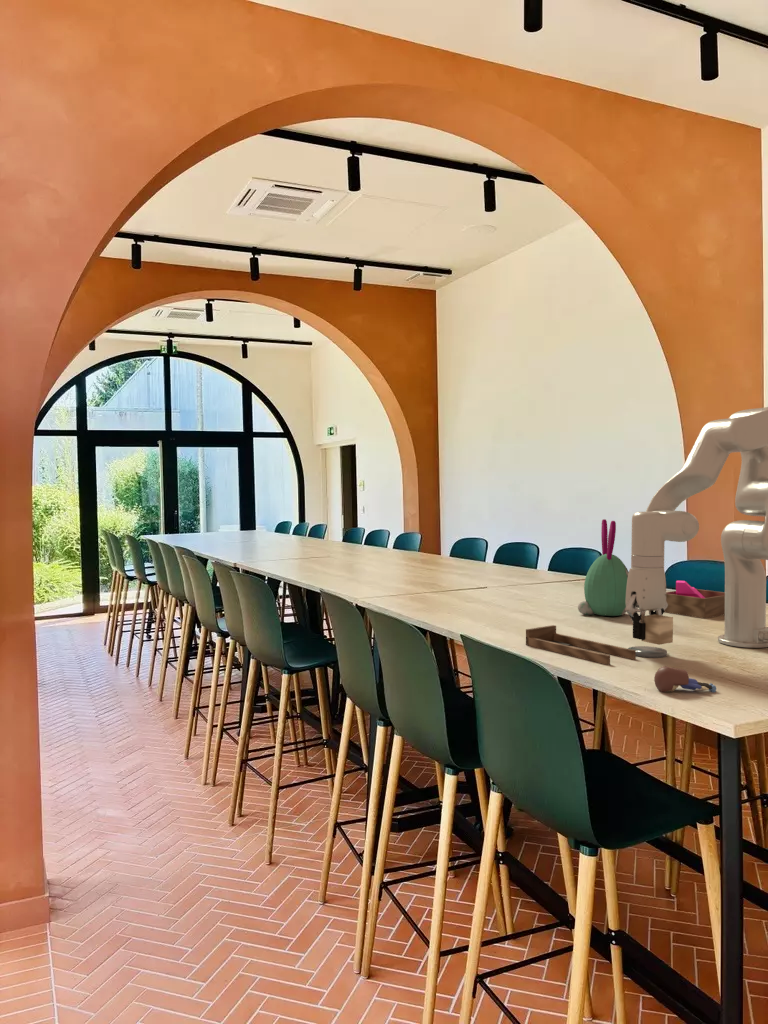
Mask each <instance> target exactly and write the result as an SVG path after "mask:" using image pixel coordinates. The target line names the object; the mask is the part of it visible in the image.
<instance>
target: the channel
mask: <svg viewBox="0 0 768 1024" xmlns="http://www.w3.org/2000/svg"><path fill="white" fill-rule="evenodd" d="M525 645H526V646H530V647H533V648H537V649H541V650H545V651H550V652H554V653H558V654H562V655H566V656H570V657H574V658H578V659H583V660H585V661H586V660H587V661H592V662H595V663H599V664H603V665H606V666H607V665H610V664H611V656H617V657H621V658H624V659H629V660H636V657H637V656H636V650H631V649H628V648H626V647H622V646H618V645H617V646H616V645H612V644H608V643H603V642H598V641H594V640H589V639H585V638H580V637H575V636H570V635H565V634H561V633H557V625H554V624H551V625H547V626H546V625H545V626H540V627H531V628H526V629H525Z"/></svg>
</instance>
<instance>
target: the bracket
mask: <svg viewBox="0 0 768 1024" xmlns="http://www.w3.org/2000/svg"><path fill="white" fill-rule="evenodd" d="M697 589H698V588H695V587H694V586H691V585H690V584H689V583H688V582H687V581H685V580H676V581H675V591H676V595H682V596H689V597H697V598H705V597H704V596H703V595H702V594H701V593H700V592H699V591H698V590H697Z"/></svg>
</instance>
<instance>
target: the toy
mask: <svg viewBox="0 0 768 1024" xmlns="http://www.w3.org/2000/svg"><path fill="white" fill-rule="evenodd" d="M609 524H610V525H609V530H608V521H607V519H605V518H604V519H602V520H601V530H600V532H601V552H602V555H600V556H598V557H597V558H596V559H595V560H594V561H593V563H592V564H591V565H590V567H589V569H588V571H587V574H586V575H585V579H584V585H583V589H584V598H585V600H583V601H581V602H579V603H578V605H577V610H578V612H579V613H580V614H582V615H586V616H589V615H590V616H591V615H598V616H603V617H604V616H606V617H607V616H608V617H617V616H622V615H625V614H626V613H627V612H626V611H625V608H626V587H627V579H628V573H629V570H628V568H627V566H626V565H625V563H624V561H622V559H621V558H620V557H619V556H617V555H615V554H613V552H614V546H615V540H616V533H617V532H616V531H617V529H616V528H617V523H616V521H615V520H611V521H610V523H609Z"/></svg>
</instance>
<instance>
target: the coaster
mask: <svg viewBox="0 0 768 1024" xmlns="http://www.w3.org/2000/svg"><path fill="white" fill-rule="evenodd" d="M627 649H631V650H636V657H639V658H649V659H651V658H653V659H654V658H657V659H658V658H664V657H665V658H666V657H667V656H668V651H667V650H666V649H664V648H661V647H656V646H647V645H646V646H645V645H637V646H636V645H635V646H629V647H628V648H627Z"/></svg>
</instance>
